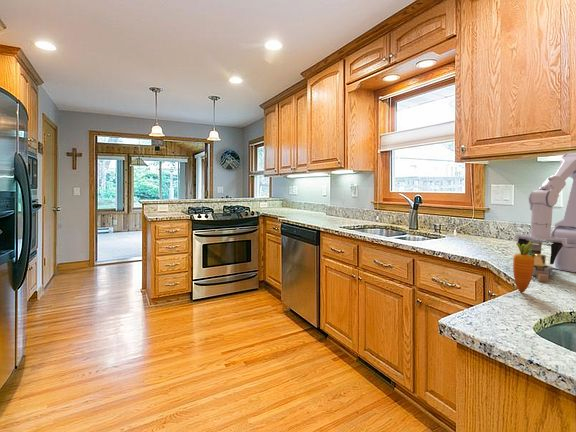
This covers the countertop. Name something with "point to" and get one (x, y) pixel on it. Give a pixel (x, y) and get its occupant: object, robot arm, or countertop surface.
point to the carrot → (523, 267)
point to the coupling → (542, 273)
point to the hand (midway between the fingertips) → (538, 261)
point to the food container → (535, 247)
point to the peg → (539, 260)
